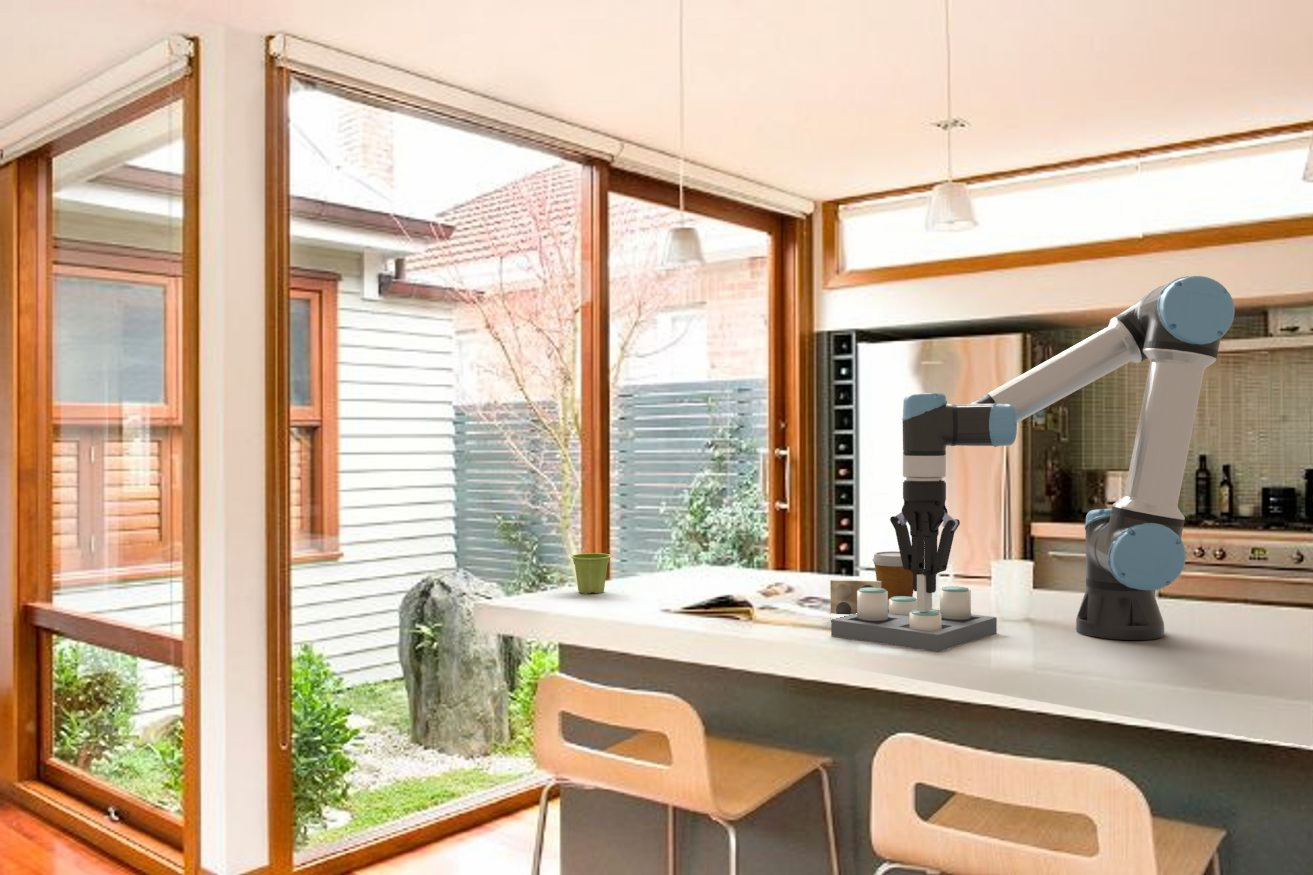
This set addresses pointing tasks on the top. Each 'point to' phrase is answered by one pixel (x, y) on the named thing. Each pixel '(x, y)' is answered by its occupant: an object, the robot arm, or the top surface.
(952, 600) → the button
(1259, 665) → the top surface
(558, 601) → the top surface
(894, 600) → the button
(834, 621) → the board
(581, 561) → the plant pot
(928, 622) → the button
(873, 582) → the card
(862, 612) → the button
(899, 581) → the disposable coffee cup
